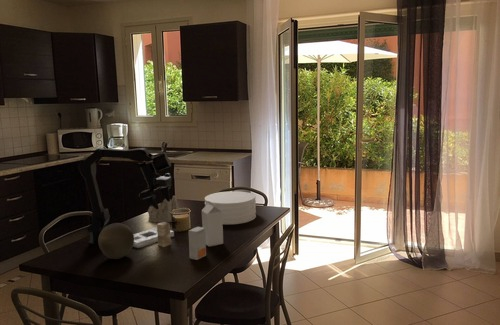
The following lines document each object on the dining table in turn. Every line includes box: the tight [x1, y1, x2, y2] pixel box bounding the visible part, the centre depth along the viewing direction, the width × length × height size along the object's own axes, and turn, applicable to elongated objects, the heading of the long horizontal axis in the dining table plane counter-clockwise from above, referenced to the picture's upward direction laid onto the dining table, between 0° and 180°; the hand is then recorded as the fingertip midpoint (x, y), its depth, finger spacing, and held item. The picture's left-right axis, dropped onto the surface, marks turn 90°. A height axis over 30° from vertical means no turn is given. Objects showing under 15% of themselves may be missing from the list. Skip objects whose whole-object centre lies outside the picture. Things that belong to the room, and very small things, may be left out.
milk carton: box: [201, 201, 224, 247], centre depth 177 cm, size 7×7×19 cm
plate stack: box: [204, 190, 257, 225], centre depth 219 cm, size 28×28×12 cm
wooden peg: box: [156, 222, 172, 248], centre depth 177 cm, size 4×4×10 cm
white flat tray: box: [132, 226, 175, 249], centre depth 186 cm, size 20×12×3 cm, turn 138°
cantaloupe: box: [98, 222, 134, 260], centre depth 162 cm, size 14×14×15 cm
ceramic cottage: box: [147, 195, 180, 223], centre depth 219 cm, size 16×16×15 cm
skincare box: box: [188, 226, 207, 261], centre depth 162 cm, size 6×4×12 cm
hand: (163, 205), depth 182 cm, fingers open, 9 cm apart
